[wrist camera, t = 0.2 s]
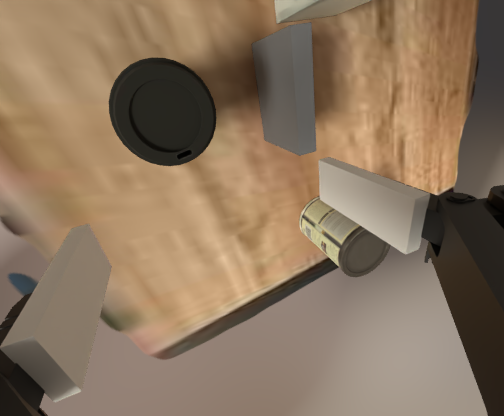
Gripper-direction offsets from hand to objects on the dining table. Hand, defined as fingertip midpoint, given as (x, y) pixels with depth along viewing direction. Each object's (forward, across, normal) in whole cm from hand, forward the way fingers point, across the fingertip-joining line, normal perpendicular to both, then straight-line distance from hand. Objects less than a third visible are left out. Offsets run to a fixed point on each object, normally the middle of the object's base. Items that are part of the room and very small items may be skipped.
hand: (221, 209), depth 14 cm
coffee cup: (+28, -1, +4) cm, 28 cm away
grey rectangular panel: (+28, +15, +4) cm, 31 cm away
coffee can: (+28, +24, -22) cm, 43 cm away
